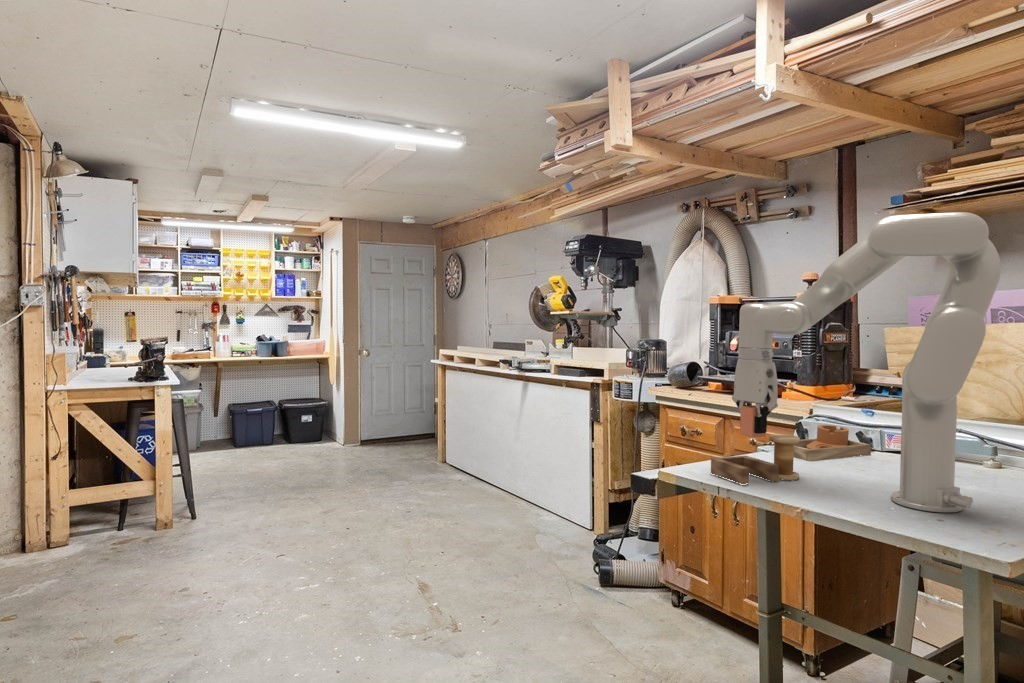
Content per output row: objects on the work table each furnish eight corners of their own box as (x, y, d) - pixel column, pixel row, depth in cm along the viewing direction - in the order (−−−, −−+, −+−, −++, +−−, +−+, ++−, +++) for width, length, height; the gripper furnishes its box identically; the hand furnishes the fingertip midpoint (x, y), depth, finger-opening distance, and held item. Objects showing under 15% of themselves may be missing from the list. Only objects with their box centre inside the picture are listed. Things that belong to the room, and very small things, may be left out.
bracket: (820, 445, 189) (822, 423, 189) (850, 450, 184) (852, 428, 183) (801, 456, 176) (803, 433, 175) (833, 463, 171) (835, 438, 170)
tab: (765, 436, 146) (766, 407, 146) (752, 437, 144) (752, 408, 144) (753, 433, 150) (753, 405, 149) (740, 434, 148) (740, 405, 148)
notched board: (778, 481, 147) (778, 465, 147) (742, 485, 143) (742, 468, 143) (745, 470, 157) (745, 455, 157) (710, 474, 153) (711, 458, 153)
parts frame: (870, 455, 177) (870, 444, 177) (809, 461, 169) (809, 450, 169) (834, 446, 189) (834, 437, 189) (775, 452, 180) (775, 442, 180)
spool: (805, 479, 149) (806, 438, 149) (783, 481, 147) (784, 440, 146) (783, 472, 156) (784, 433, 156) (761, 474, 153) (762, 435, 153)
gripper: (794, 357, 140) (792, 436, 141) (742, 353, 155) (740, 424, 156) (769, 357, 137) (766, 438, 138) (718, 353, 153) (716, 426, 153)
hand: (753, 430), depth 147 cm, fingers closed on tab, 4 cm apart
